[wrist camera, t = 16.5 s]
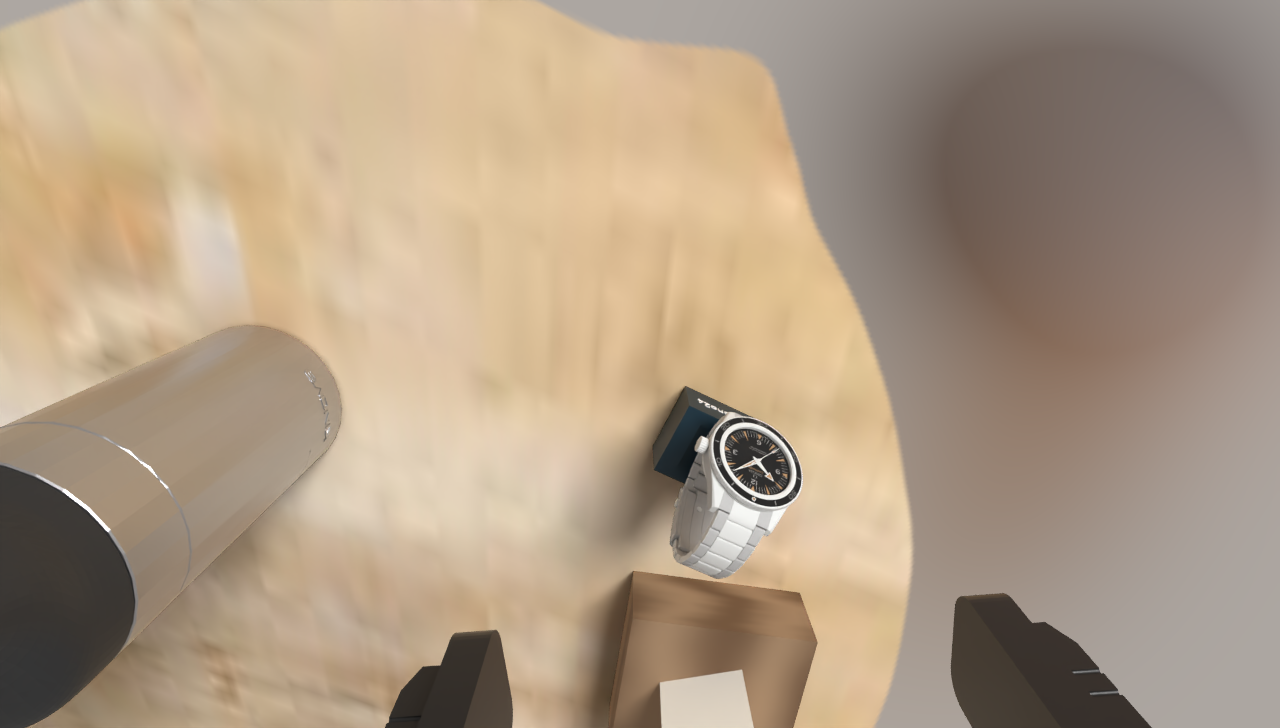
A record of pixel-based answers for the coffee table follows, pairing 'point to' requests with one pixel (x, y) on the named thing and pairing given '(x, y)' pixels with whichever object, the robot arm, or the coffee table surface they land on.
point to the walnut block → (711, 646)
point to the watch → (723, 482)
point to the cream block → (706, 702)
